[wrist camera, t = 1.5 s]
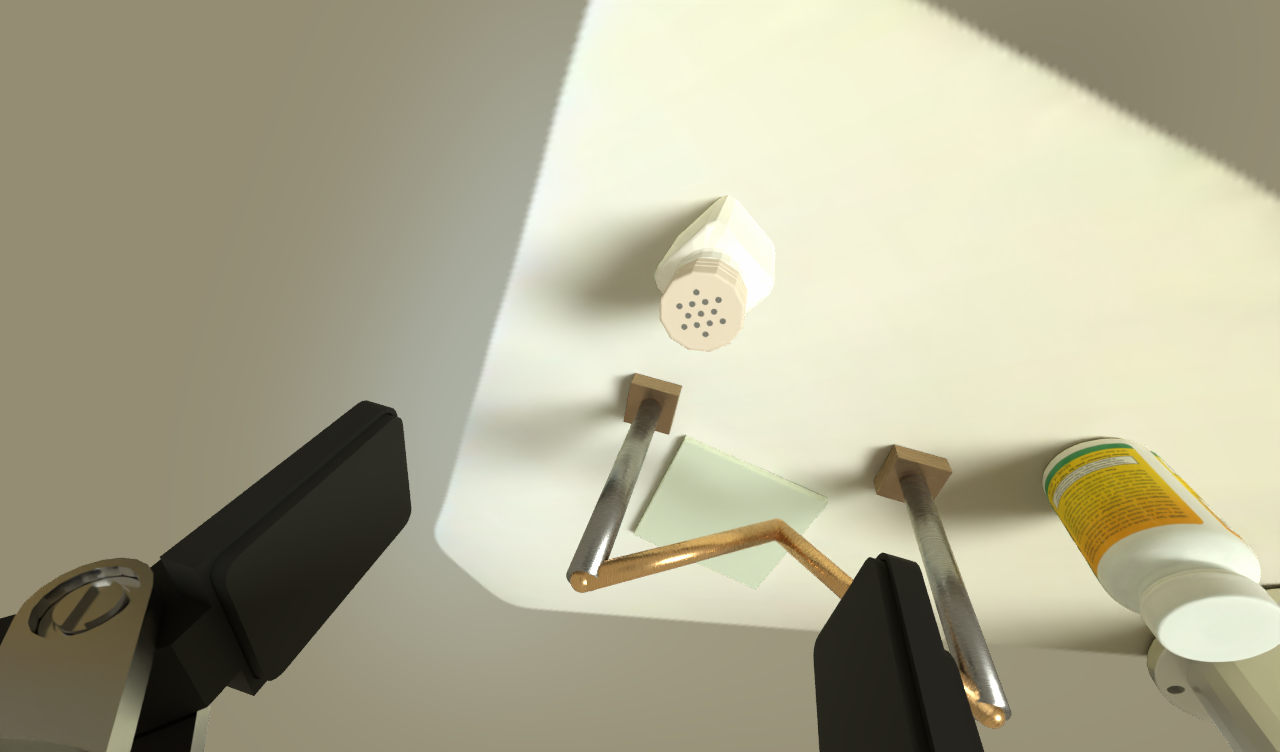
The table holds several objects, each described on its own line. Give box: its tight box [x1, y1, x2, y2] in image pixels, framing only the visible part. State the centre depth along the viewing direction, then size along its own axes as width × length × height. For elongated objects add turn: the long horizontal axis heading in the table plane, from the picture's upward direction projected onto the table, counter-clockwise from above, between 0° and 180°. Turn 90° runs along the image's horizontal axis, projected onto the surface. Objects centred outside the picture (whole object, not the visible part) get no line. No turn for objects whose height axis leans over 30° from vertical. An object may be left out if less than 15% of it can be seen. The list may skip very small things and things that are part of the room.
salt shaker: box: [654, 195, 775, 352], centre depth 23 cm, size 4×4×10 cm
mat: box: [634, 436, 827, 589], centre depth 36 cm, size 10×10×1 cm
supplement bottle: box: [1042, 438, 1280, 662], centre depth 24 cm, size 5×5×10 cm
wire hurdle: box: [566, 373, 1011, 729], centre depth 25 cm, size 19×3×14 cm, turn 79°
